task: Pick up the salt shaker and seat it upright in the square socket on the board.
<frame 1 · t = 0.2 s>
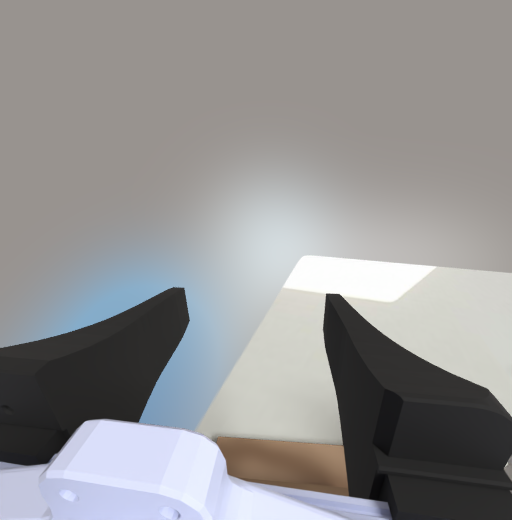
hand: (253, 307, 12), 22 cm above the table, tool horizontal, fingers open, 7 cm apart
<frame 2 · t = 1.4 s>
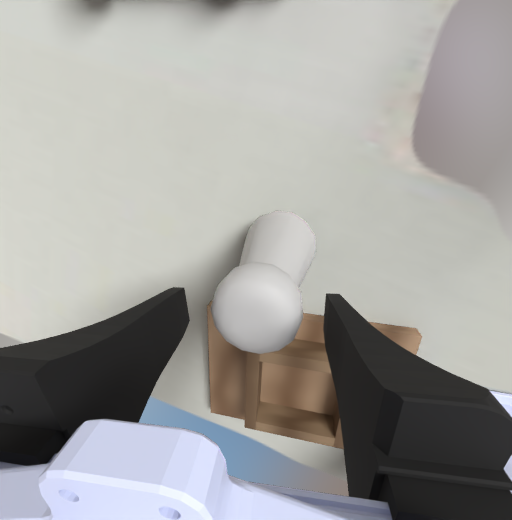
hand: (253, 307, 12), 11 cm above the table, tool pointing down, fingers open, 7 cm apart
salt shaker: (283, 237, 23), on the table
socket board: (299, 372, 27), on the table
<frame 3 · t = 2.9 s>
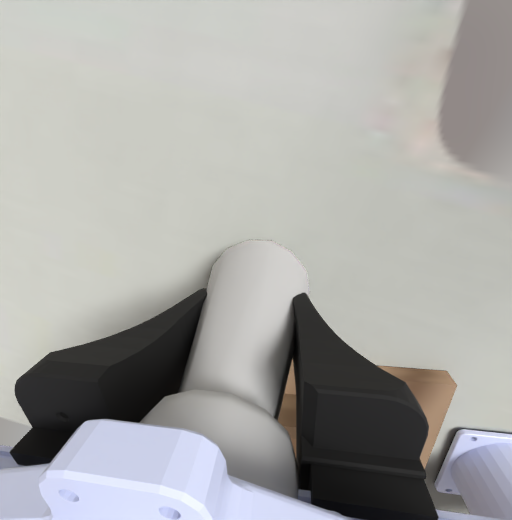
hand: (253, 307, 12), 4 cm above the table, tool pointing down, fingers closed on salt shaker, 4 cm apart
salt shaker: (263, 269, 17), on the table, touching gripper
socket board: (300, 424, 22), on the table
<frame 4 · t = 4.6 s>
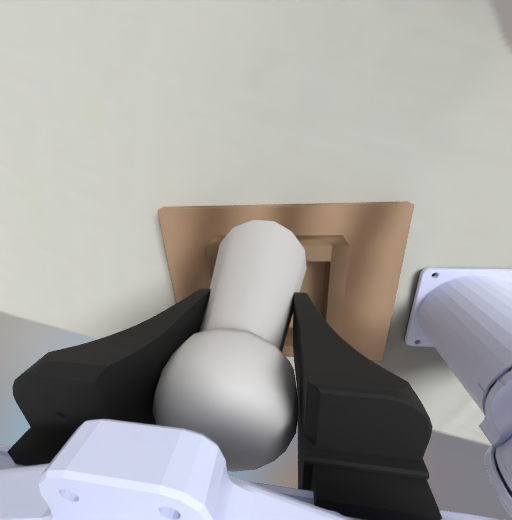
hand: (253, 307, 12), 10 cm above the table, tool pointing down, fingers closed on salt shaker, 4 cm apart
salt shaker: (264, 248, 18), point 4 cm above the table, touching gripper
socket board: (278, 284, 23), on the table
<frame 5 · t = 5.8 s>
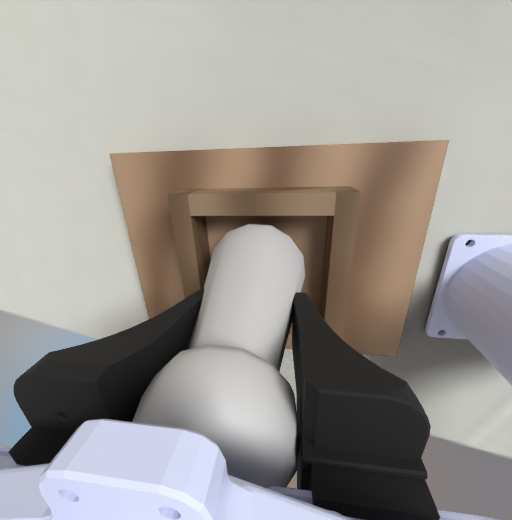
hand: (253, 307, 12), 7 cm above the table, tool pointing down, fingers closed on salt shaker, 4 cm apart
salt shaker: (260, 254, 17), point 1 cm above the table, touching gripper, socket board
socket board: (267, 257, 19), on the table
when the fingers open (7 cm above the table, at t = 6.3 s): salt shaker stays where it is, resting on socket board.
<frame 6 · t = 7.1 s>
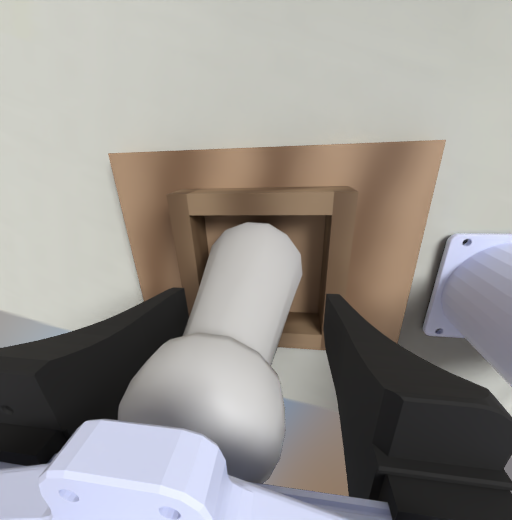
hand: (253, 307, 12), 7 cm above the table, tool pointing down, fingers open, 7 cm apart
salt shaker: (259, 253, 18), point 1 cm above the table, touching socket board
socket board: (265, 256, 19), on the table
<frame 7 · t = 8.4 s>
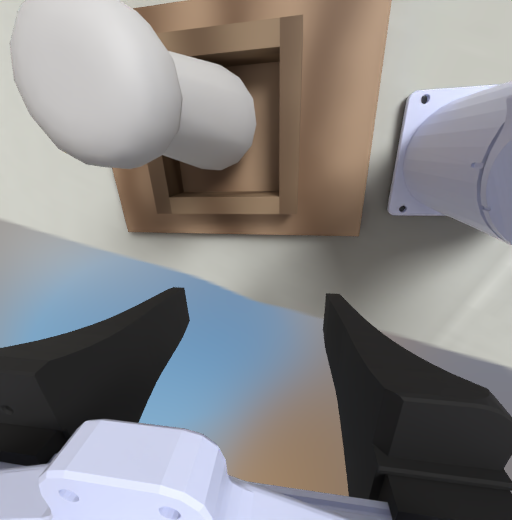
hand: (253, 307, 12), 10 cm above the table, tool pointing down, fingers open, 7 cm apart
salt shaker: (222, 125, 18), point 1 cm above the table, touching socket board
socket board: (231, 135, 19), on the table
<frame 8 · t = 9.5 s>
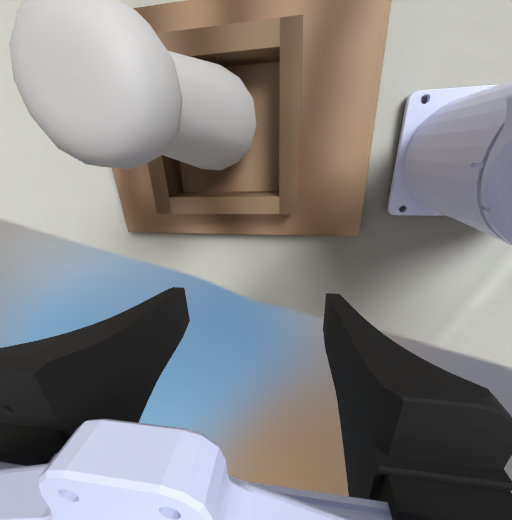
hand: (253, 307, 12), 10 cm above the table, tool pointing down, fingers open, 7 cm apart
salt shaker: (222, 125, 18), point 1 cm above the table, touching socket board
socket board: (231, 135, 19), on the table
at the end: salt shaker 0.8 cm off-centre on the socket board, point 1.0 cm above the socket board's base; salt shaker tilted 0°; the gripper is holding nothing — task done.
